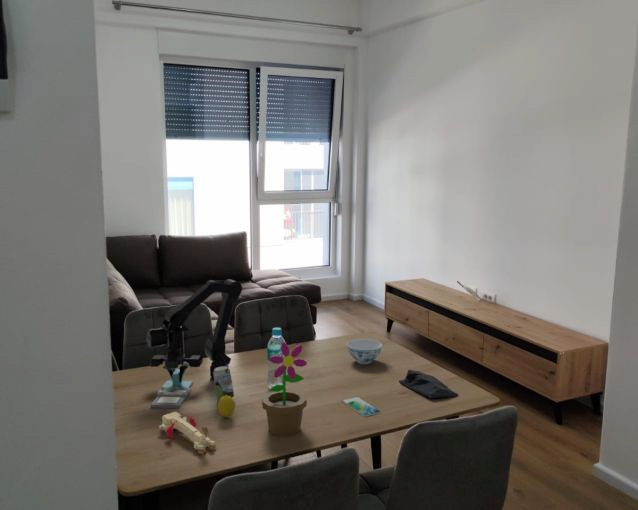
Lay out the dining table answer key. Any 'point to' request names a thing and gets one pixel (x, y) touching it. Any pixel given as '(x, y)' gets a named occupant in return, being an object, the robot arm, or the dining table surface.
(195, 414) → the dining table surface
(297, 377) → the flowerpot
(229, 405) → the lemon
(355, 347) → the chinaware
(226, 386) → the beverage can
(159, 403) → the plate
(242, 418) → the dining table surface
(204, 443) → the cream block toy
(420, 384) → the dark grey cloth
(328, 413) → the dining table surface
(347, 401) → the smartphone
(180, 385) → the stub
